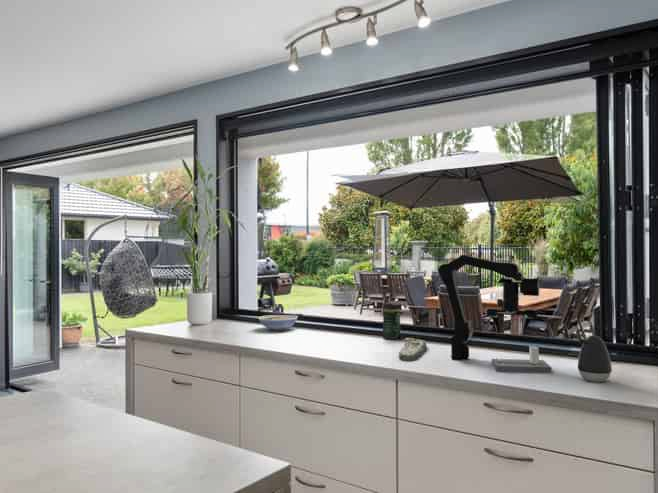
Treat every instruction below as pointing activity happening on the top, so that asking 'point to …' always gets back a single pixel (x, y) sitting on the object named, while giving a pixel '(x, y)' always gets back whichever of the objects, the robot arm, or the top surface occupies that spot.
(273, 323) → the ramen bowl
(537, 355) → the white small cylinder
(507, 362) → the console
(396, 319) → the coffee jar
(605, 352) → the dark grey speaker
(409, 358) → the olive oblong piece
